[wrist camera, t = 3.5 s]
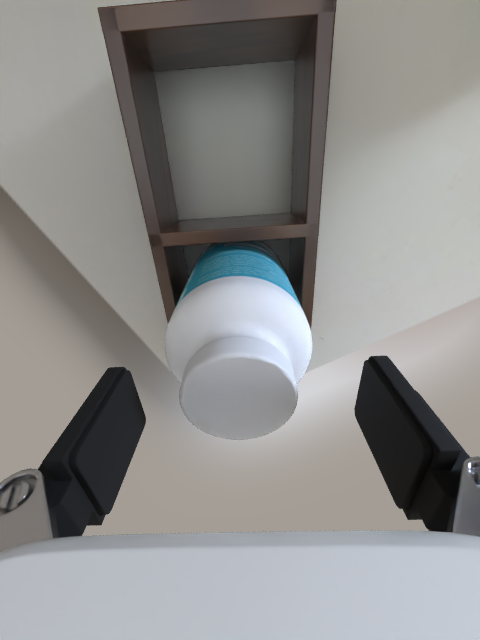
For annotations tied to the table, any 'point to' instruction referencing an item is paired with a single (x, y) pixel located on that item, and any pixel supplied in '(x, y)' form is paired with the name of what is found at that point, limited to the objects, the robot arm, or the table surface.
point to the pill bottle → (238, 342)
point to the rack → (208, 51)
